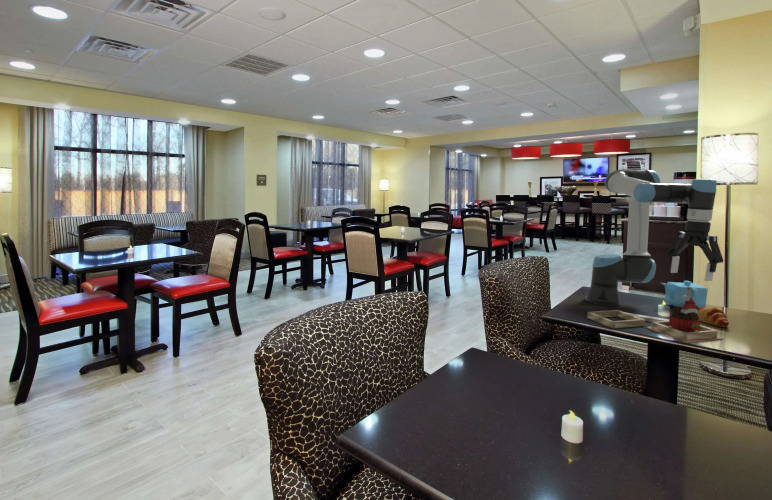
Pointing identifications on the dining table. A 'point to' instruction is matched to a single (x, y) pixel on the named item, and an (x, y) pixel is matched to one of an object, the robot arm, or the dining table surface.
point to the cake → (685, 315)
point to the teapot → (679, 289)
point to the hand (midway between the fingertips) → (690, 276)
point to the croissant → (712, 316)
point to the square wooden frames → (653, 325)
